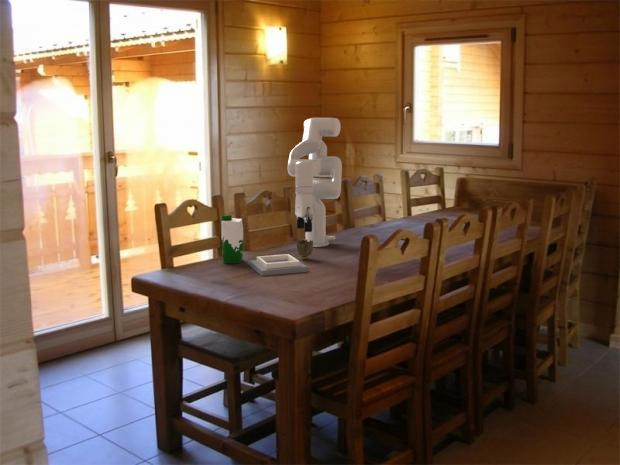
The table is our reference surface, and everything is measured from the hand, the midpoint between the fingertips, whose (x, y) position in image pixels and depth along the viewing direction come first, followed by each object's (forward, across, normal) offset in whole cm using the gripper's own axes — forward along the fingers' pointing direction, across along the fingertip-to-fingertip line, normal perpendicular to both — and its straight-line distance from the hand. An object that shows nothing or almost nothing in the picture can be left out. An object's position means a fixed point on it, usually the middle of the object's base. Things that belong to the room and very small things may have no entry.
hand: (304, 230), depth 308 cm
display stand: (+13, +11, -16) cm, 23 cm away
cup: (+13, -1, 0) cm, 13 cm away
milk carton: (+13, -8, -30) cm, 33 cm away
